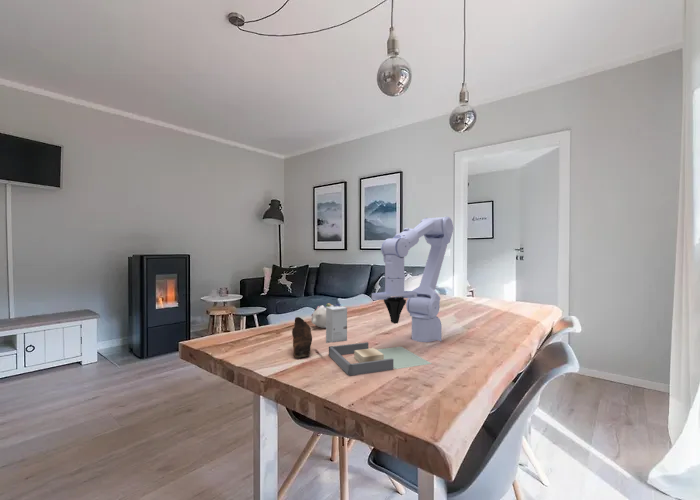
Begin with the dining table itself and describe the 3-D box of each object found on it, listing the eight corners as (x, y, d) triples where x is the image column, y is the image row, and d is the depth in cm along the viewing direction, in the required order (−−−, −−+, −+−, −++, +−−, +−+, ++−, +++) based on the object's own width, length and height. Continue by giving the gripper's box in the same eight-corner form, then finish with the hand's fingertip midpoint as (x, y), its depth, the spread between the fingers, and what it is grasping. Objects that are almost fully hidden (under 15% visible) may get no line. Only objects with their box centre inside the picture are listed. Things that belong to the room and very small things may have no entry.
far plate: (401, 351, 102) (401, 346, 102) (431, 369, 87) (431, 363, 87) (368, 355, 98) (368, 350, 98) (395, 374, 83) (395, 369, 83)
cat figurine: (332, 300, 142) (314, 301, 128) (346, 311, 139) (329, 313, 125) (320, 318, 143) (302, 321, 129) (334, 330, 140) (317, 334, 126)
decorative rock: (293, 347, 107) (293, 313, 107) (312, 346, 107) (312, 313, 107) (290, 359, 95) (290, 322, 95) (312, 359, 95) (312, 321, 95)
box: (367, 355, 98) (367, 342, 98) (393, 375, 83) (393, 359, 83) (328, 360, 94) (328, 346, 94) (348, 382, 79) (348, 365, 79)
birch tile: (373, 358, 94) (373, 347, 94) (383, 365, 88) (383, 354, 88) (354, 361, 92) (354, 350, 92) (363, 368, 86) (363, 357, 86)
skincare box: (332, 346, 107) (332, 309, 107) (325, 343, 111) (325, 307, 111) (348, 343, 110) (348, 307, 110) (340, 340, 114) (340, 305, 114)
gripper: (408, 275, 106) (408, 318, 107) (367, 277, 101) (367, 321, 101) (420, 277, 100) (420, 322, 100) (377, 279, 95) (377, 327, 95)
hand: (394, 322), depth 100 cm, fingers closed
